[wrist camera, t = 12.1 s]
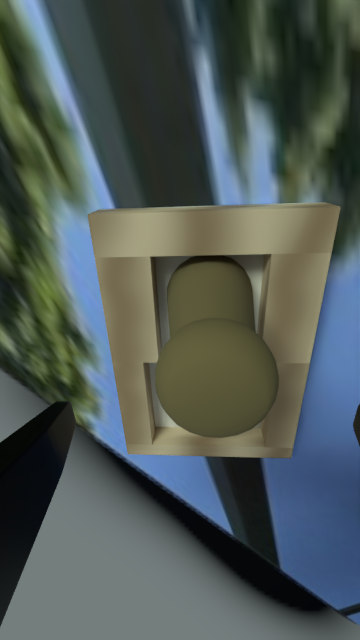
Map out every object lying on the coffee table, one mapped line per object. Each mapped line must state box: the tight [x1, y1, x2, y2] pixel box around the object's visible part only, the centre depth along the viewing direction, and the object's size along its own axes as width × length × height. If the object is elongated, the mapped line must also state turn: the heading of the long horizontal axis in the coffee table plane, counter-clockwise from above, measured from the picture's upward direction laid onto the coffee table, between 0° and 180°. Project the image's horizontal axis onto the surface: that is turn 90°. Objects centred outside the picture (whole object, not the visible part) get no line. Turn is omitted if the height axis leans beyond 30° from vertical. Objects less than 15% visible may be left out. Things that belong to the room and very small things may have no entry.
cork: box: [155, 255, 279, 438], centre depth 16 cm, size 6×6×11 cm
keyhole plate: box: [88, 202, 341, 458], centre depth 22 cm, size 14×20×2 cm
